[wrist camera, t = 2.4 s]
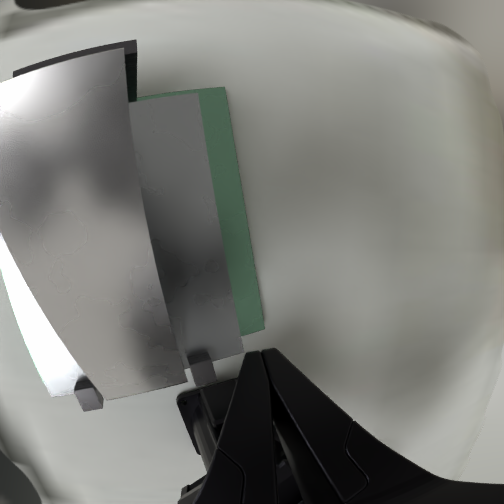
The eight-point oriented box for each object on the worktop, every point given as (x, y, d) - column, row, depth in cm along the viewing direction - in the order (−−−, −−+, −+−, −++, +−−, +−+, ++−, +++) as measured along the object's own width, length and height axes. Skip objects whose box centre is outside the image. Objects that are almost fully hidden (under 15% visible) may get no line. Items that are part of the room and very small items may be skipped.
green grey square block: (259, 323, 22) (322, 383, 14) (46, 375, 17) (16, 455, 10) (220, 91, 19) (272, 32, 11) (-13, 145, 14) (-84, 120, 6)
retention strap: (185, 373, 14) (188, 383, 14) (106, 391, 13) (108, 402, 12) (123, 48, 5) (124, 48, 5) (-31, 96, 4) (-41, 101, 4)
